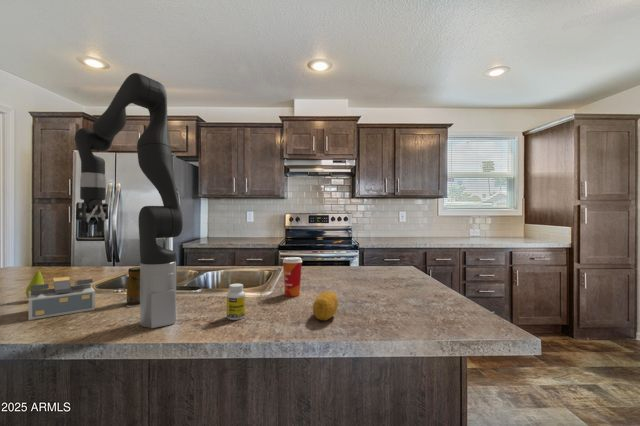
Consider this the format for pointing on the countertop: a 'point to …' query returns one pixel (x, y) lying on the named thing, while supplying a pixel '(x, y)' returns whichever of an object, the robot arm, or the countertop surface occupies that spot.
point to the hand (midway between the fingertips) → (93, 232)
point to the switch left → (39, 287)
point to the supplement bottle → (236, 302)
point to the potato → (325, 305)
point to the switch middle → (62, 285)
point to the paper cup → (292, 275)
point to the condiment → (133, 287)
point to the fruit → (35, 281)
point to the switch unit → (61, 302)
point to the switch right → (83, 282)
